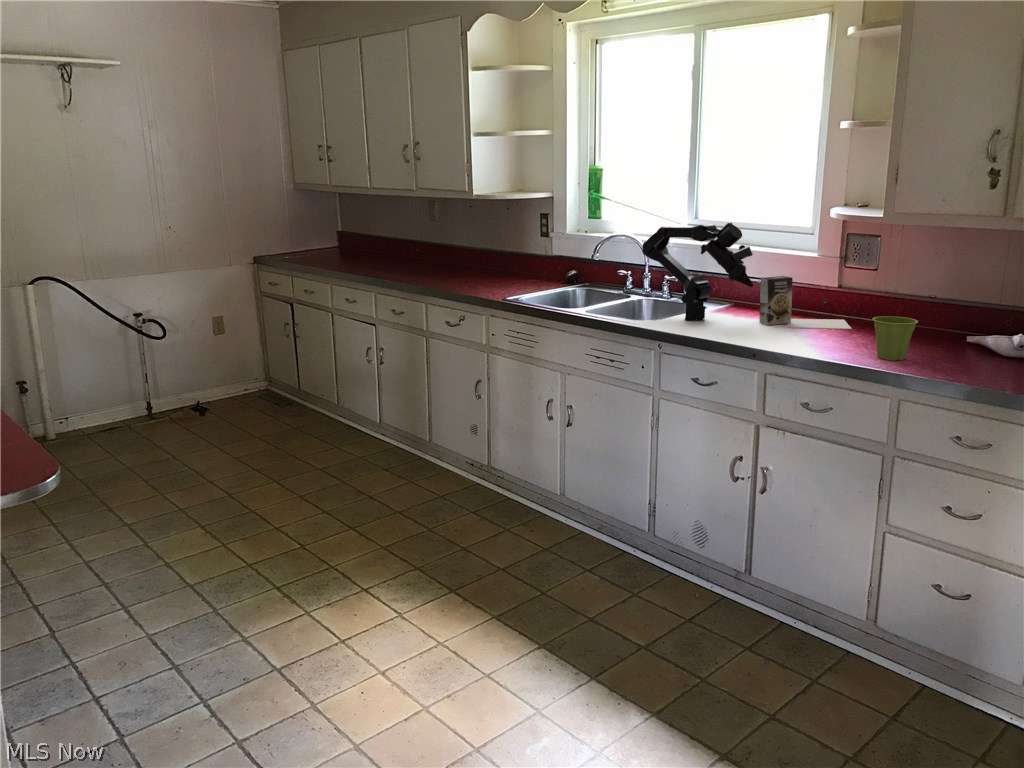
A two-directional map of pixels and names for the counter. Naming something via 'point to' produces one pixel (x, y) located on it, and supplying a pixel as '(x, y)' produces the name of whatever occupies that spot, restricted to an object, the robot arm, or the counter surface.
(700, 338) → the counter surface
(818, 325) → the mat
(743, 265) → the robot arm
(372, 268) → the counter surface
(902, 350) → the plant pot
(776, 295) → the cookie box
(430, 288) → the counter surface
